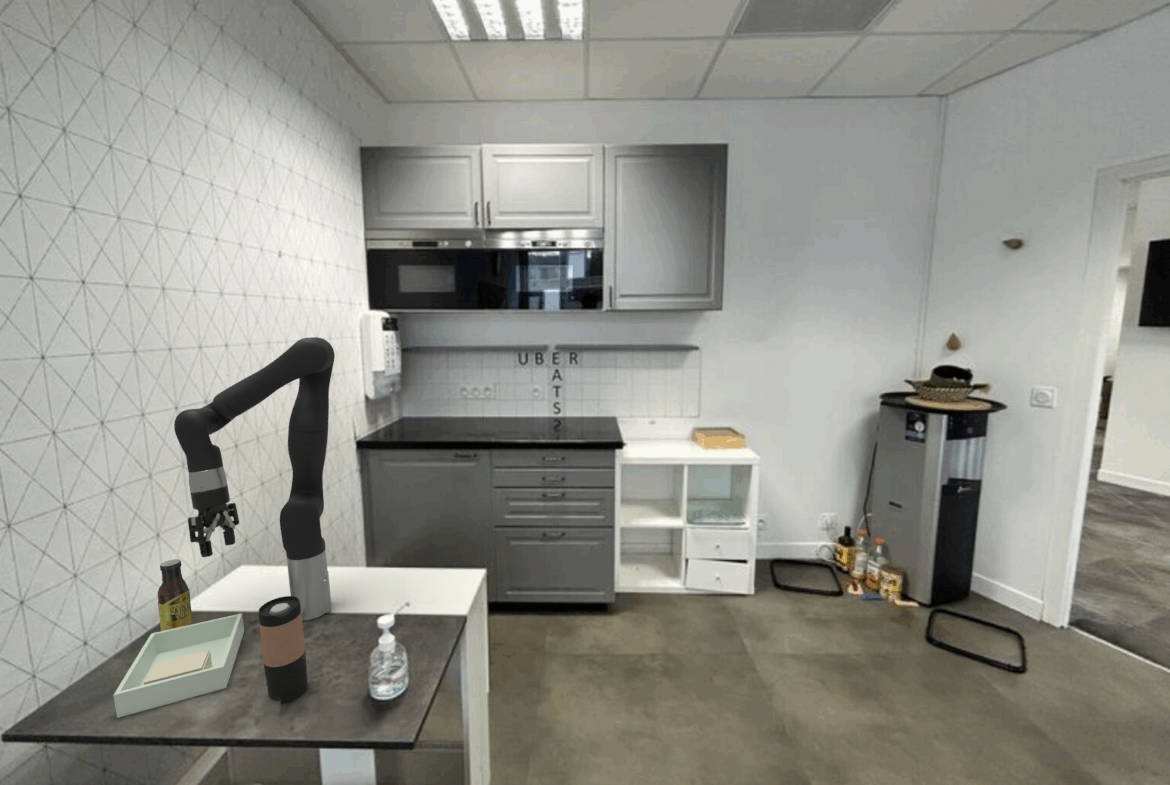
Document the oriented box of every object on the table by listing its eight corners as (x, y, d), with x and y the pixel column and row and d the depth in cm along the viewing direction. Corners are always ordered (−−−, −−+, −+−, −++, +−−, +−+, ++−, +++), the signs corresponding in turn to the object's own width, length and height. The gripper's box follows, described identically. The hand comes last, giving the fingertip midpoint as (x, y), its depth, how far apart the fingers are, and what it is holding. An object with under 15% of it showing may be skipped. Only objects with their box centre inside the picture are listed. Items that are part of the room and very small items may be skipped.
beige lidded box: (212, 669, 112) (210, 649, 112) (205, 689, 106) (202, 668, 105) (156, 683, 108) (153, 662, 107) (145, 705, 102) (142, 683, 101)
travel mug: (282, 678, 110) (273, 595, 108) (316, 679, 110) (308, 595, 107) (259, 705, 103) (248, 616, 100) (295, 705, 103) (285, 616, 100)
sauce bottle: (175, 646, 122) (165, 570, 119) (155, 643, 123) (144, 568, 121) (201, 630, 129) (191, 558, 126) (181, 627, 130) (171, 556, 127)
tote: (244, 635, 126) (241, 613, 125) (226, 691, 107) (223, 666, 106) (154, 656, 118) (151, 633, 118) (117, 722, 99) (113, 695, 98)
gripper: (204, 491, 117) (215, 558, 118) (242, 479, 132) (252, 538, 132) (171, 496, 117) (182, 563, 118) (213, 483, 131) (223, 543, 132)
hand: (219, 550), depth 125 cm, fingers open, 8 cm apart
